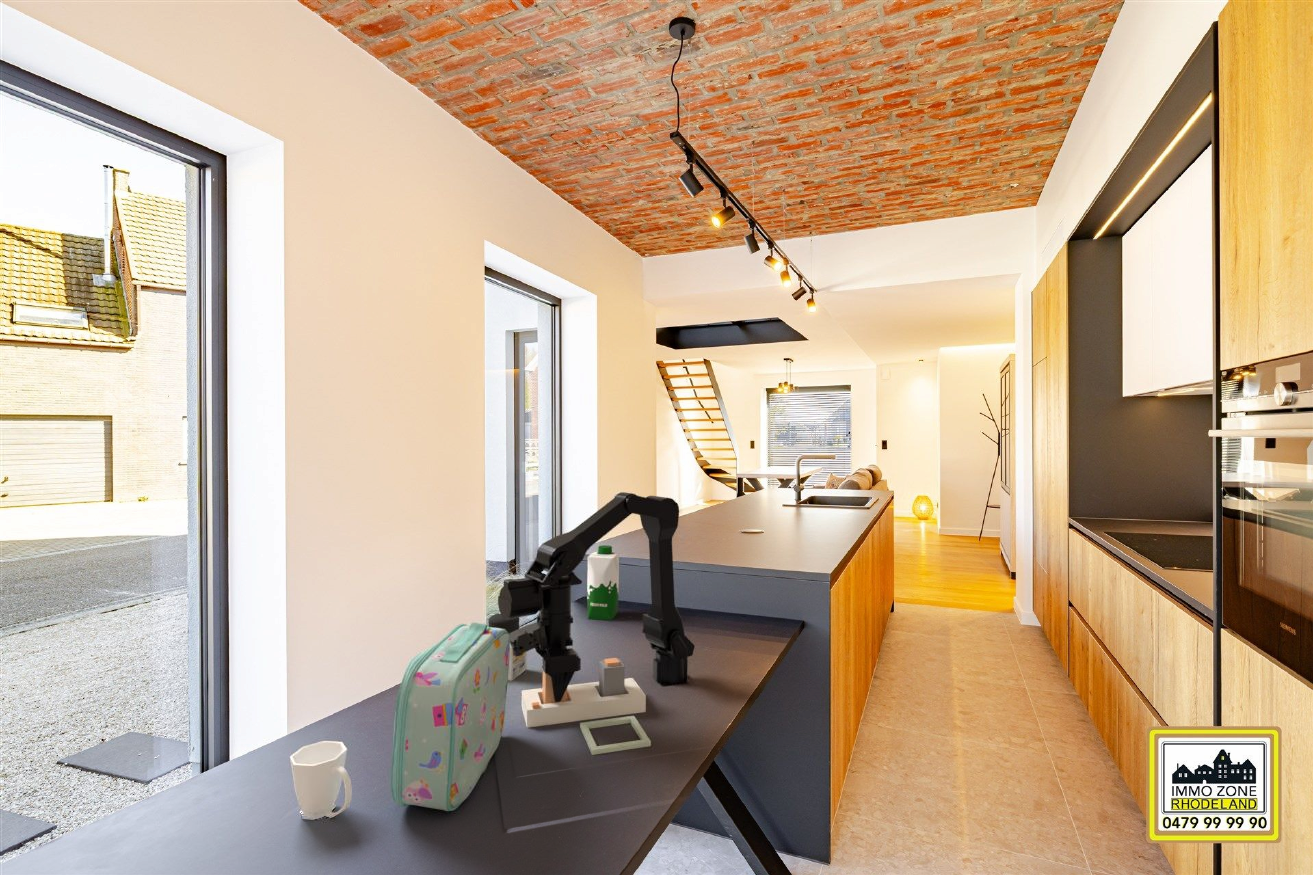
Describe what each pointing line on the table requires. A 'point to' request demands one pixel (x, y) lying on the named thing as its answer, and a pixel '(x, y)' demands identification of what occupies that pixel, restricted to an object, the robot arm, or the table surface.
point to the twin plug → (611, 677)
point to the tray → (618, 746)
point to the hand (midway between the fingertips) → (554, 693)
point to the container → (515, 662)
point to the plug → (549, 691)
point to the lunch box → (449, 717)
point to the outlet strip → (582, 704)
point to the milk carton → (603, 584)
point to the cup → (320, 778)
